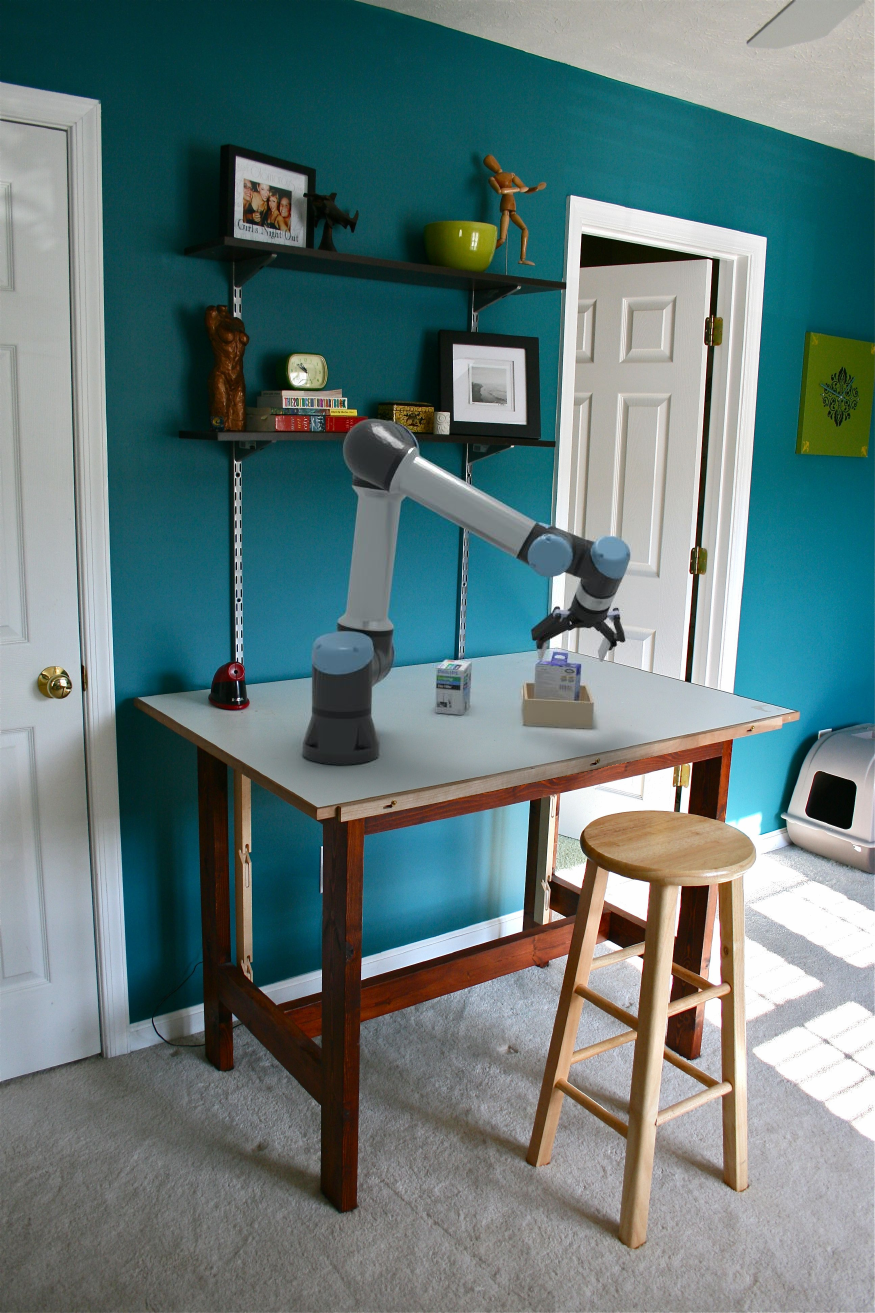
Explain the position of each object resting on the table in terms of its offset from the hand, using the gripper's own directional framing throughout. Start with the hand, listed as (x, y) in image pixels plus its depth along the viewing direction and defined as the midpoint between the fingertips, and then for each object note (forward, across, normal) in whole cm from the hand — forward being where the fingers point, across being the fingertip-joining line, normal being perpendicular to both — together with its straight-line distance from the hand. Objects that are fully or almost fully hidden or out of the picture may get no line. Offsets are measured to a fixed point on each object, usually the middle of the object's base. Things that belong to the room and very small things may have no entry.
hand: (570, 655), depth 217 cm
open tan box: (+26, +2, +3) cm, 26 cm away
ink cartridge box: (+18, 0, -5) cm, 18 cm away
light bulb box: (+24, -23, 0) cm, 33 cm away
